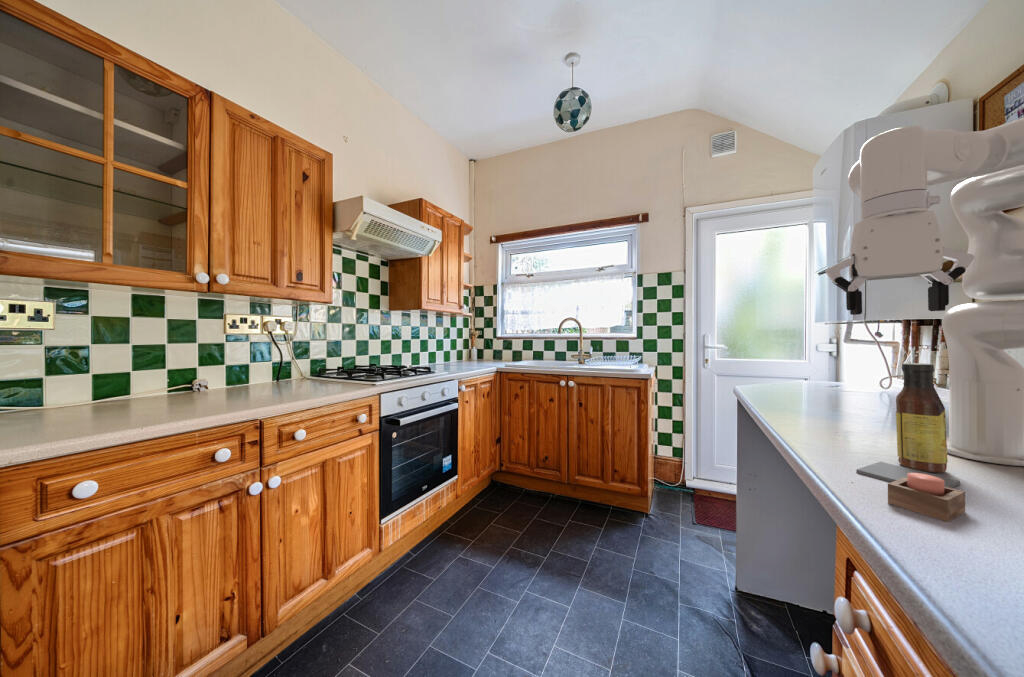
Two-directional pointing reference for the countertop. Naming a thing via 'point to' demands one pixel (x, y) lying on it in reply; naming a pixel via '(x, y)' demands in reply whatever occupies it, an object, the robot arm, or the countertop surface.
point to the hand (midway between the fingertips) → (894, 312)
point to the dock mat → (898, 473)
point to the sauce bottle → (920, 421)
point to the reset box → (927, 500)
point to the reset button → (926, 483)
